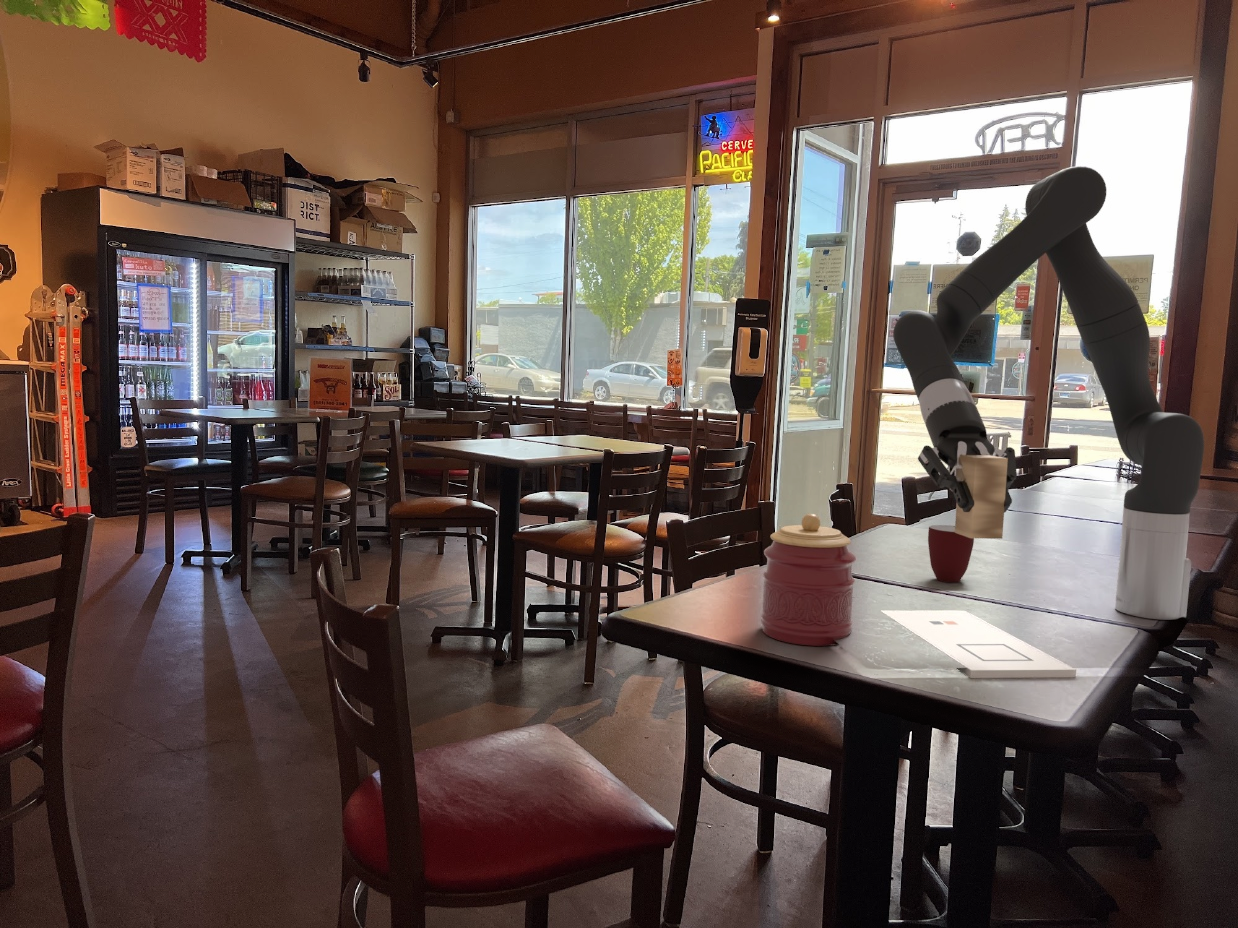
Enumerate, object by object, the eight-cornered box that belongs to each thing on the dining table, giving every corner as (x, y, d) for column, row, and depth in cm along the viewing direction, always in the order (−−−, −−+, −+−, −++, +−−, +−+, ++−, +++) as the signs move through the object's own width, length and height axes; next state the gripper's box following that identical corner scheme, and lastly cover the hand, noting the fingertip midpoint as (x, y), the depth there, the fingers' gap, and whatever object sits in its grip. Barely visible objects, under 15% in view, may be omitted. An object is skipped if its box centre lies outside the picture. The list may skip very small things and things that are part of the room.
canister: (775, 616, 132) (780, 504, 130) (860, 630, 126) (866, 512, 124) (748, 637, 120) (753, 515, 118) (839, 653, 114) (846, 524, 113)
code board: (963, 616, 135) (964, 610, 135) (1075, 677, 107) (1076, 669, 107) (879, 616, 133) (879, 610, 133) (970, 678, 106) (971, 670, 106)
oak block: (985, 532, 120) (990, 455, 119) (1002, 538, 115) (1007, 458, 114) (954, 532, 119) (959, 454, 118) (970, 538, 115) (975, 457, 114)
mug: (936, 571, 168) (939, 522, 167) (979, 578, 164) (982, 527, 163) (919, 580, 160) (923, 528, 159) (964, 587, 155) (967, 533, 154)
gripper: (913, 397, 122) (947, 491, 111) (1007, 400, 123) (1050, 492, 113) (896, 432, 128) (927, 524, 117) (986, 434, 129) (1025, 525, 118)
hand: (987, 508), depth 115 cm, fingers closed on oak block, 4 cm apart
